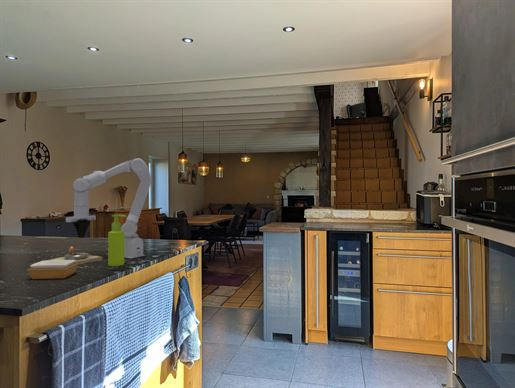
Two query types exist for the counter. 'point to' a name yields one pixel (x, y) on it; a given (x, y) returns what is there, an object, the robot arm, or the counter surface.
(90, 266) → the counter surface
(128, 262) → the counter surface
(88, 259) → the board
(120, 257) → the soap dispenser
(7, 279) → the counter surface
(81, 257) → the handwheel
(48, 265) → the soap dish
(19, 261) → the counter surface
